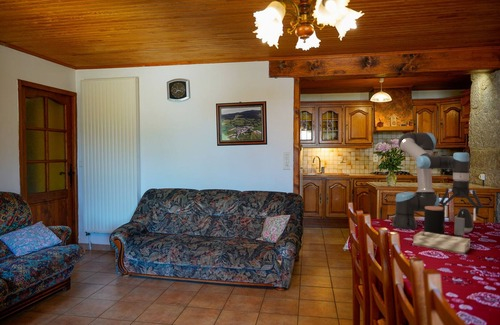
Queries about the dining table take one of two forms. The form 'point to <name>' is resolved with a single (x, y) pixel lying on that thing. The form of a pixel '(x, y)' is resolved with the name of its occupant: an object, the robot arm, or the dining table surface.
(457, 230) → the metal peg
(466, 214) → the dark grey egg shape
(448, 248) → the keyhole plate
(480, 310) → the dining table surface
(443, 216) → the coffee jar
